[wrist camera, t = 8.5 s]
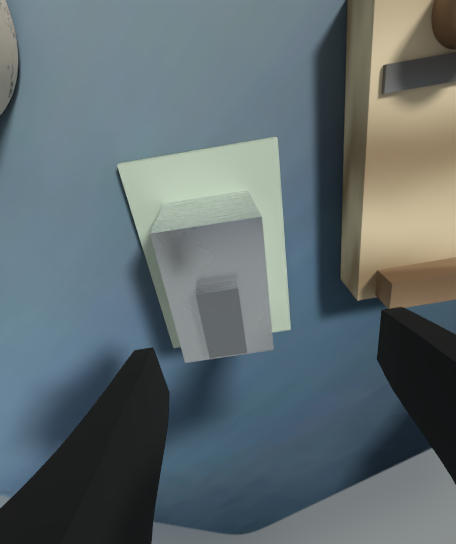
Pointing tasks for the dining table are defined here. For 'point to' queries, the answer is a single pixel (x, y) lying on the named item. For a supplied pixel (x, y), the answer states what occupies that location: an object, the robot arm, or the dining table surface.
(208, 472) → the dining table surface
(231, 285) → the pale grey box
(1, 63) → the teacup with lid
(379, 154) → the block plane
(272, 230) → the mat
